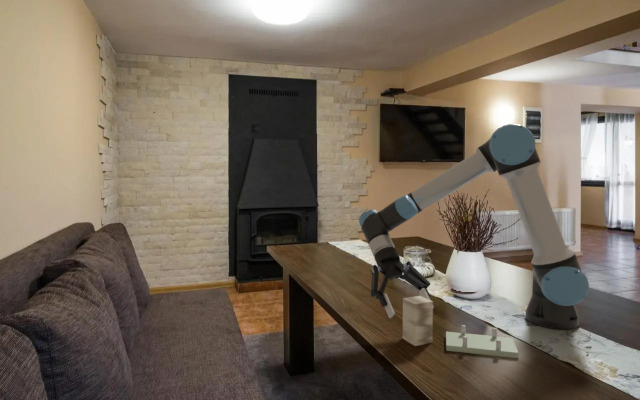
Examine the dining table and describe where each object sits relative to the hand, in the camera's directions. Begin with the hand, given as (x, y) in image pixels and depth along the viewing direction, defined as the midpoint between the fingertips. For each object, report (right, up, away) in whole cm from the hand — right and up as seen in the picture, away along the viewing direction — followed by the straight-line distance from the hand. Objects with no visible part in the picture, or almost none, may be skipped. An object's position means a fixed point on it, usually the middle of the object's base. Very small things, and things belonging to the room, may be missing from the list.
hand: (412, 312), depth 121 cm
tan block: (+1, -8, -1) cm, 8 cm away
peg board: (+18, -8, -6) cm, 20 cm away
